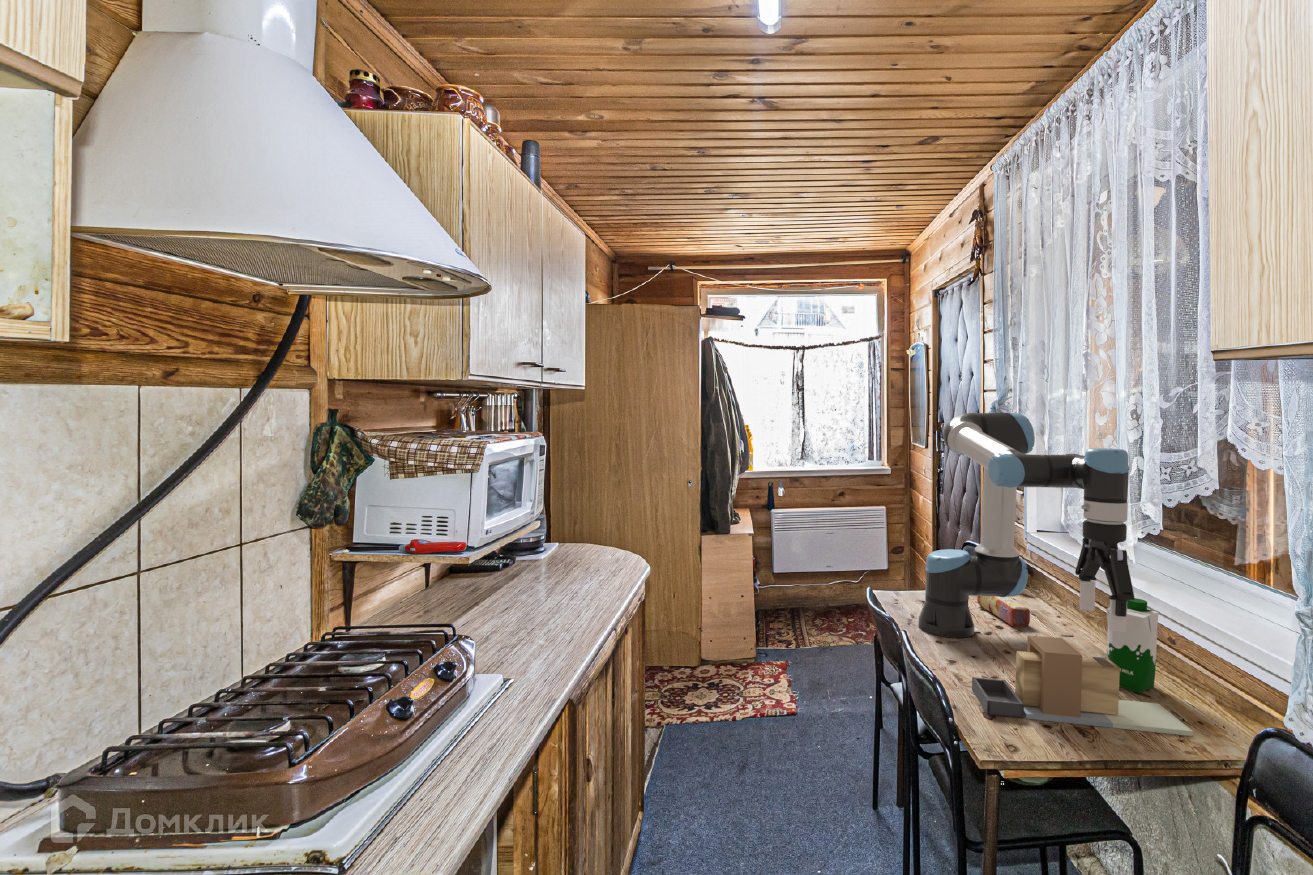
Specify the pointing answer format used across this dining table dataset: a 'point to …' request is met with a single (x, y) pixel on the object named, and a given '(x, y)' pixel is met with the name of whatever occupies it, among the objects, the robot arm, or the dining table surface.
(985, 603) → the snack package
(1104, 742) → the dining table surface
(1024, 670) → the block
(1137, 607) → the milk carton
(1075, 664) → the board
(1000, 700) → the tray
